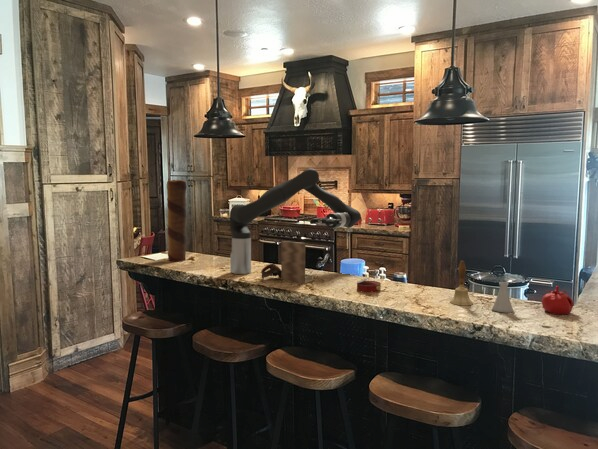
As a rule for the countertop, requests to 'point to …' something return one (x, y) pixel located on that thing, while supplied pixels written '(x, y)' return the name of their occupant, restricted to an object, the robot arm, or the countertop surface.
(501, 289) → the flask
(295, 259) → the brown upright block
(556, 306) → the pomegranate
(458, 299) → the hand bell
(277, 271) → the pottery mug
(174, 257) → the wafer roll
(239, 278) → the countertop surface
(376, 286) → the canned food
